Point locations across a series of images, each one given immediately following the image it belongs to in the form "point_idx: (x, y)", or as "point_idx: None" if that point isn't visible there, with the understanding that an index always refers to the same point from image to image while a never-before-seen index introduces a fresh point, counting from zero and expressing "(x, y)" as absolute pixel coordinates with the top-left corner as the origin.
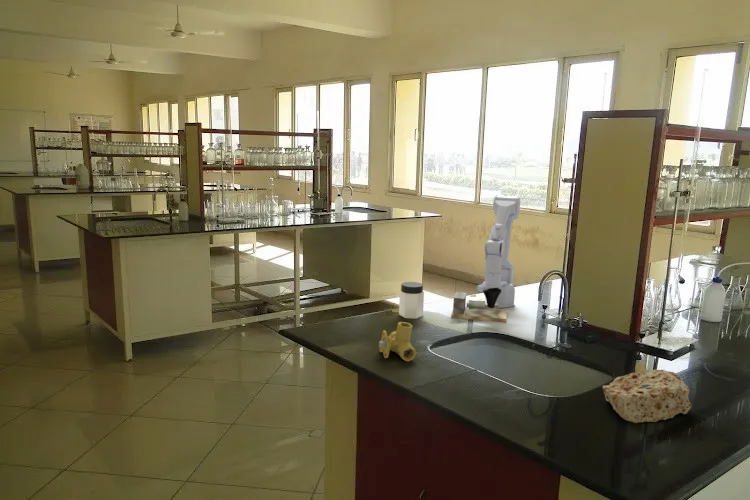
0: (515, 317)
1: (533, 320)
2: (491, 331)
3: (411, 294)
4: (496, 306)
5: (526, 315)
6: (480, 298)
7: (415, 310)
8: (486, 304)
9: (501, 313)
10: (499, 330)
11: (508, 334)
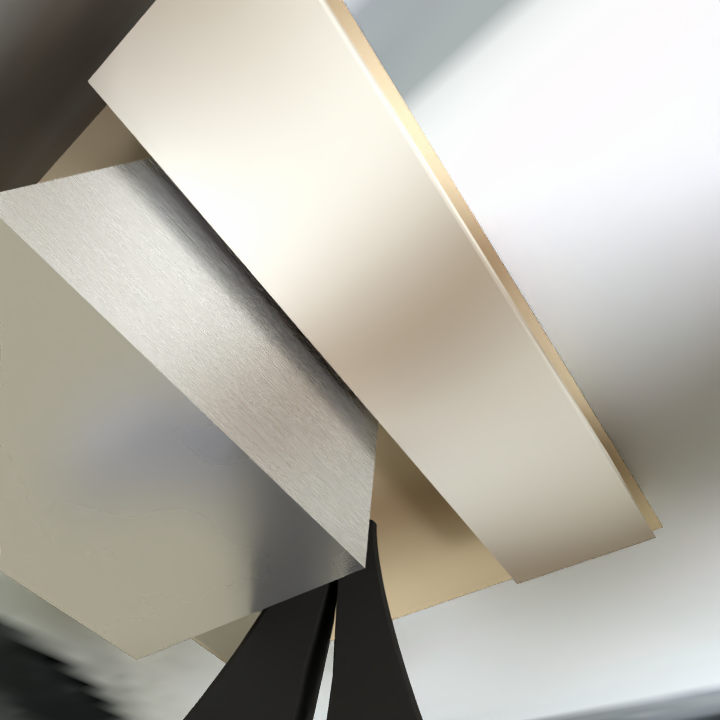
0: (544, 604)
1: (571, 701)
2: (39, 630)
3: None
4: (499, 549)
5: (702, 635)
6: (195, 526)
7: None
8: (413, 447)
9: (457, 554)
10: (113, 650)
11: (118, 699)
